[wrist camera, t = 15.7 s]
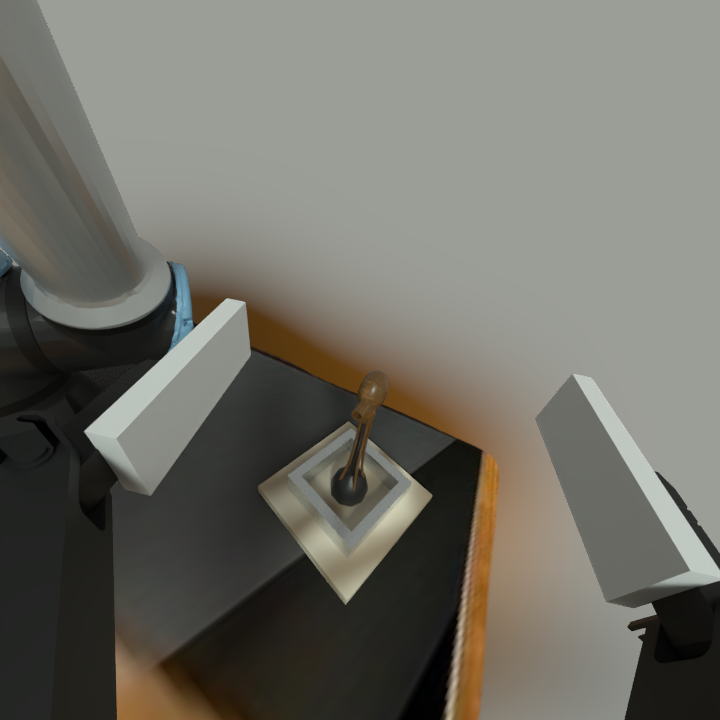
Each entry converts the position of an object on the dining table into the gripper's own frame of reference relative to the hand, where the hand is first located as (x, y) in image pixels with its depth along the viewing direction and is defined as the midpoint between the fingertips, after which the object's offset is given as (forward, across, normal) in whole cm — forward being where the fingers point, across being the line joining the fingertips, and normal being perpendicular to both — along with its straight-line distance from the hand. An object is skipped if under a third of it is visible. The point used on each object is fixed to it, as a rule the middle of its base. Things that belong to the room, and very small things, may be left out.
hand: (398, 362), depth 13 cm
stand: (+10, 0, -31) cm, 33 cm away
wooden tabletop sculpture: (+10, 0, -30) cm, 32 cm away
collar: (+10, 0, -30) cm, 31 cm away
